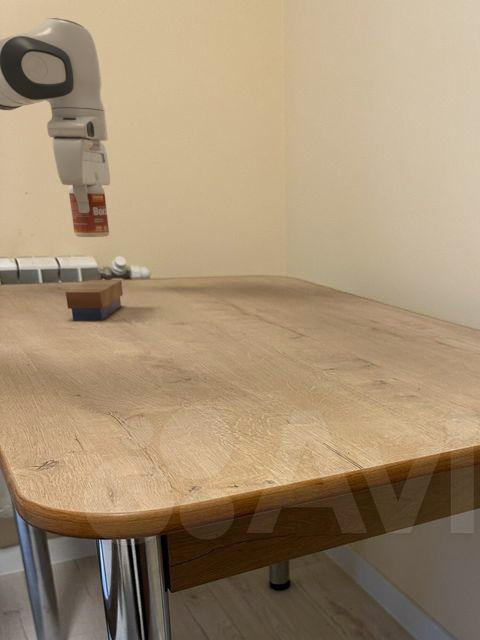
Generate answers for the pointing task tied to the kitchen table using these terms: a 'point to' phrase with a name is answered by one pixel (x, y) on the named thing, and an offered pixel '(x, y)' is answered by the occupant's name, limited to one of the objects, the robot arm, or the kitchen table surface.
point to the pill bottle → (96, 219)
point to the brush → (94, 299)
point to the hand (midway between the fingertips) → (91, 212)
